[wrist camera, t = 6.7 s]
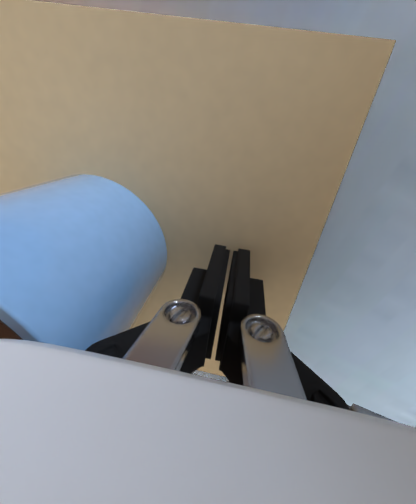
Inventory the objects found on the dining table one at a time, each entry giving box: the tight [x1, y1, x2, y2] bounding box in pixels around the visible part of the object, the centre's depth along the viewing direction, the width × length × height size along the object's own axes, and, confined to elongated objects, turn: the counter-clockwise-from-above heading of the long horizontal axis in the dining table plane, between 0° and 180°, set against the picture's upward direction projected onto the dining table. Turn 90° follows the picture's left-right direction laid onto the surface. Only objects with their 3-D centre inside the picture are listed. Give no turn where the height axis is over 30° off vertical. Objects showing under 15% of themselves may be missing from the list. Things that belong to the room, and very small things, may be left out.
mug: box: [0, 174, 167, 351], centre depth 10 cm, size 11×7×8 cm
